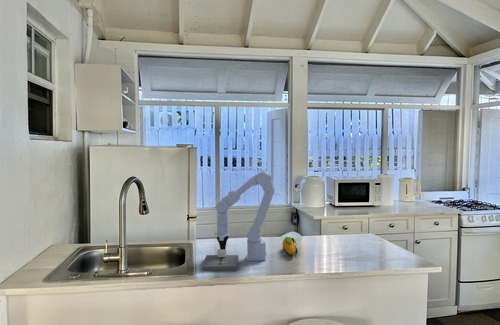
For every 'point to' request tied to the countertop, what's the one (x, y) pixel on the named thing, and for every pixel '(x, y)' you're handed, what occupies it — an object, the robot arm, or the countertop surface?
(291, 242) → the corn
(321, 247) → the countertop surface
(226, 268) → the panel
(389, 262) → the countertop surface
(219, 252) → the fader
